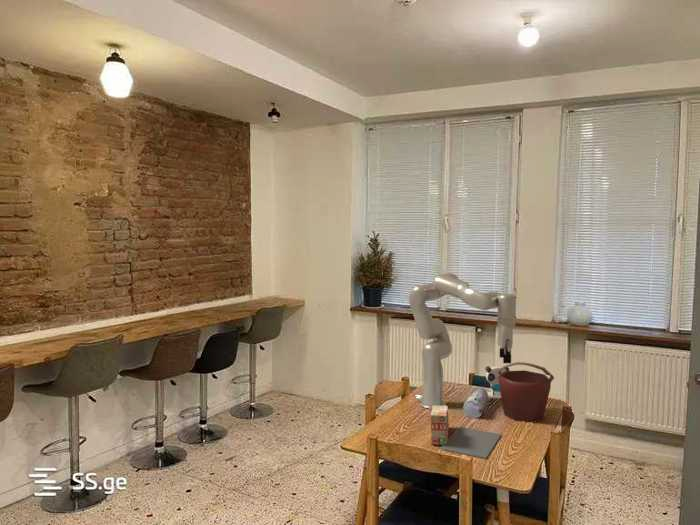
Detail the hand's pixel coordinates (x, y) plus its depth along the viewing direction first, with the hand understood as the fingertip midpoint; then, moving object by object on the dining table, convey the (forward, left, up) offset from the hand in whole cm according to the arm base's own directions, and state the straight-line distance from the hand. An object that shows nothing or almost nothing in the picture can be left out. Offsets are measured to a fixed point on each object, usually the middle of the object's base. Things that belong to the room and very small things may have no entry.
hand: (505, 360), depth 230 cm
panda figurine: (-12, +40, -29) cm, 51 cm away
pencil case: (-15, +10, -29) cm, 35 cm away
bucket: (+6, +14, -29) cm, 33 cm away
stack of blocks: (-20, -27, -29) cm, 44 cm away
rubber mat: (-7, -27, -29) cm, 40 cm away
